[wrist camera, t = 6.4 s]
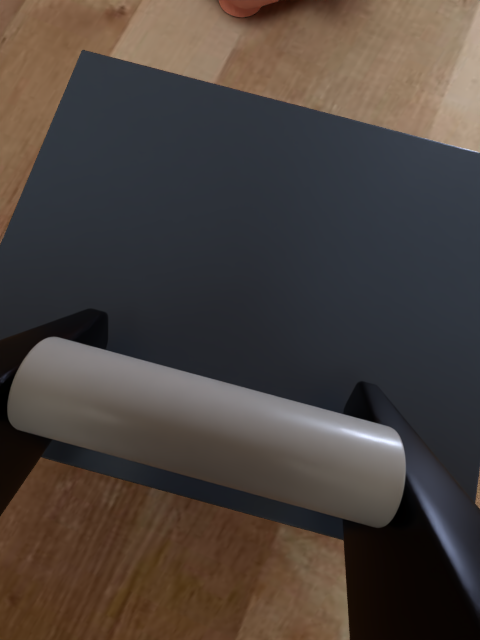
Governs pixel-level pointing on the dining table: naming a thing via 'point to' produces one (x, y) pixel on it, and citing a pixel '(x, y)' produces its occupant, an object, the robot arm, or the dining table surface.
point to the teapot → (243, 6)
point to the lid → (244, 296)
